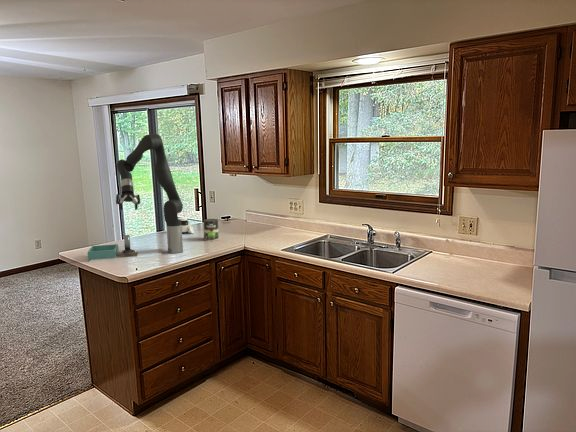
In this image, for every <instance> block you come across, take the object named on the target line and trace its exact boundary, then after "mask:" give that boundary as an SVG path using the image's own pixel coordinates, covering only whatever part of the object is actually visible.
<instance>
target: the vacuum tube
mask: <svg viewBox="0 0 576 432" xmlns="http://www.w3.org/2000/svg"><path fill="white" fill-rule="evenodd" d="M130 239H131V238H130V235H129V234H125V235H123V241H124V242H123V243H124V249H123V250H124V253H129V252H132V250H133V249H131V240H130Z"/></svg>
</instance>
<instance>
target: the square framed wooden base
mask: <svg viewBox="0 0 576 432" xmlns="http://www.w3.org/2000/svg"><path fill="white" fill-rule="evenodd" d="M124 250H125V249H123V250H121V252H118V254H117V256H116V258H117V259H119V258H131V257H137V256H138V255H139V251H135V249H132V252H129V253H124Z"/></svg>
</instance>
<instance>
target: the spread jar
mask: <svg viewBox="0 0 576 432" xmlns="http://www.w3.org/2000/svg"><path fill="white" fill-rule="evenodd" d="M178 219H179V220H181V225H182V235H186V234H189V233H190V234H194V233H195V231H194V230H195V229H194V227H193V225H192V224H189V221H188V217H183V216H181V217H178Z"/></svg>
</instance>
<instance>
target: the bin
mask: <svg viewBox="0 0 576 432" xmlns="http://www.w3.org/2000/svg"><path fill="white" fill-rule="evenodd" d="M119 253H120V252H119V244H114V243H113V244H102V245H101V244H99V245H92V246H91V247H90V248H89V250H88V251H87V260H88V261H90V262H91V261H93V260H105V259H116V258H117V257H118V255H119Z"/></svg>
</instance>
